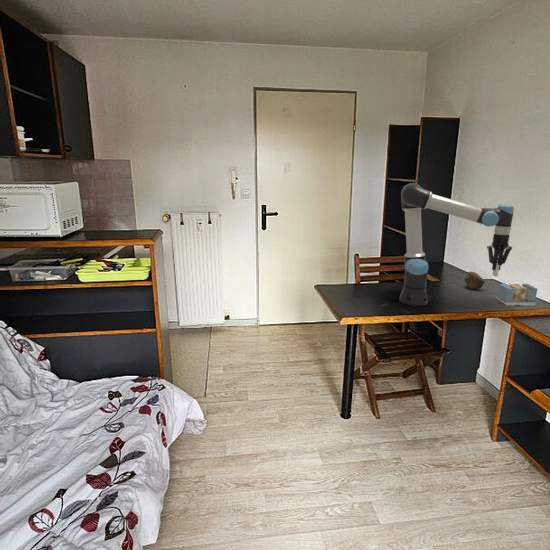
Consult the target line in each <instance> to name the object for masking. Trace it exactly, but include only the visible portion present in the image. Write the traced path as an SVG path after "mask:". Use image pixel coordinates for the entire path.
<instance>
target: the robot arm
mask: <svg viewBox="0 0 550 550" xmlns="http://www.w3.org/2000/svg"><path fill="white" fill-rule="evenodd" d="M400 198H401V200H400V201H401V209H402V210H403V211H404V220H405V221H404V222H405V225H404V226H405V241H406V242H405V243H406V253H405V254H404V256H403V257H404V258H403V259H404V266H403V268H404V279H403V280H404V281H403V288H402V290H401V292H400V295H399V296H398V298H399V299H398V300H399V302H401V304H404V305H407V306H412V307H421V306H426V305H428V301H429V300H428V295H427V282H428V281H427V280H428V272H429V263H428V261H427V260H426V253H425V252H424V251H423V235H422V234H423V233H422V232H423V231H422V230H423V229H422V209H423V210H425V209H429V210H433V211H437V212H440V213H444V214H447V215H450V216H454V217H457V218H460V219H463V220H467V221H471V222H474V223H478V224H480V225H484V226H485V227H490V228H491V227H494V231H493V237H492V243H491V244H490V245H487V246H486V248H487V250H488V251H487V252H488V260H489V261H488V262H489V263H490V264H492V267H491V270H492V276H493V277H498V276H499V272H500V271H501V267H502V266H503V265H504V264H506V262H507V259H508V257H509V254H510V252H511V251H512V250H513V246H511V245H510V244H509V240H510V233H511V231H512V222H513V217H514V209H515V207H514V205H512V204H497V205H498V206H497V207H495V208H491V207H488V208H487V207H479V206H476V205H472V204H468V203H466V202H465V203H464V202H462V201H459V200H455V199H451V198H447V197H445V196H441V195H437V194H434V193H433V192H432V191H431V190H427V189H425V188H424V187H422V186H421V185H419V183H416V182H410V183H407V184H406V185H405V184H404V186H403V187H402V189H401V191H400Z"/></svg>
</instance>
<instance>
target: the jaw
mask: <svg viewBox="0 0 550 550" xmlns="http://www.w3.org/2000/svg"><path fill="white" fill-rule="evenodd" d="M513 291H514V290H513V288H511V287H509V285H507V284H505V283H499V285H498V291H497V295H496V296H498V297H499V298H501V299H502V300H504V301H505V302H506V301H511V300H512V297H513Z"/></svg>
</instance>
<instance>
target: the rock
mask: <svg viewBox="0 0 550 550" xmlns="http://www.w3.org/2000/svg"><path fill="white" fill-rule="evenodd" d="M464 282H465V284H466V285H465V287H466V289H470V290H479V289H482V287H483V286H484V284H485V282H486V281H485V280H484V278H482V276H481V275H479V274H478V273H476V272H474V271H468V272H467V275H466V276H465V278H464Z"/></svg>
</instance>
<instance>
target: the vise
mask: <svg viewBox="0 0 550 550" xmlns="http://www.w3.org/2000/svg"><path fill="white" fill-rule="evenodd" d="M521 286H523V287H525V288H527V289H526V294H525V299H524V302H515V301H512V300H511V301H506V302H505V301H504V300H502V299H501V298H499V297H498V296H497V295H495V296H496V297H495V299H496V300H497V299H498V300H497V301H499V302H500V301H501V302H500V303H501V304H503V303H504V304H503V305H505V304H506V305H505V306H514V305H520V306H521V305H522V307H523V306H525V307H535V306H536V304H537V302H536V298H537V294H538V293H537V292H538V288H536V287H534V286H532V285H531V284H529V283H522V284H521Z"/></svg>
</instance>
